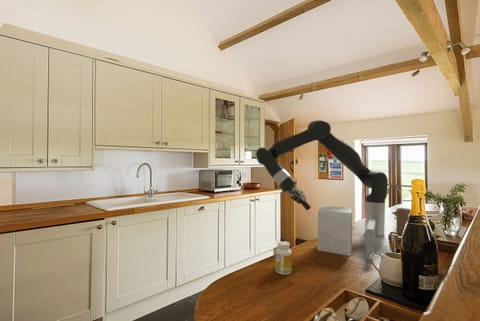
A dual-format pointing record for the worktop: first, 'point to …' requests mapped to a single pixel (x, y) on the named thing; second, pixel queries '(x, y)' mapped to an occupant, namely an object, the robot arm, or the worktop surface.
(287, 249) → the supplement bottle
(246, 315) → the worktop surface
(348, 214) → the supplement box
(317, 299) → the worktop surface
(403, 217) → the wooden block
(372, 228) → the grey board
